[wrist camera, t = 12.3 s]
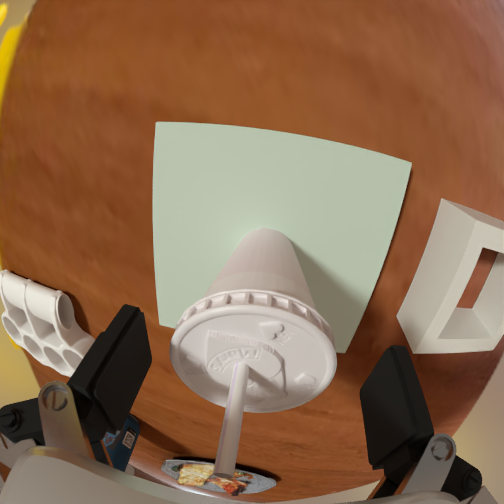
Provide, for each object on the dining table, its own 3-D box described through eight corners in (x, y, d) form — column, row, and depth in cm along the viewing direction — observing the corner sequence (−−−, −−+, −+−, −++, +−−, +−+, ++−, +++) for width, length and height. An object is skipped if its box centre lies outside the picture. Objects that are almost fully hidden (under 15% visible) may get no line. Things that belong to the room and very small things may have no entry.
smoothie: (280, 187, 16) (273, 413, 4) (331, 267, 18) (378, 481, 6) (198, 241, 18) (87, 435, 6) (253, 308, 20) (222, 501, 8)
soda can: (121, 424, 37) (98, 477, 26) (96, 402, 34) (68, 458, 23) (150, 429, 35) (129, 488, 24) (125, 405, 32) (97, 470, 22)
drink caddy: (441, 197, 16) (476, 220, 12) (516, 227, 16) (545, 248, 12) (396, 316, 21) (413, 353, 17) (473, 321, 20) (492, 350, 16)
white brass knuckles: (92, 293, 23) (118, 381, 30) (-2, 259, 24) (28, 340, 30) (74, 314, 20) (108, 400, 27) (-18, 272, 21) (17, 353, 27)
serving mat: (162, 121, 16) (156, 122, 15) (405, 160, 15) (411, 162, 14) (163, 317, 23) (159, 324, 22) (343, 345, 22) (345, 353, 21)
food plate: (246, 491, 50) (245, 502, 47) (158, 468, 48) (155, 479, 45) (293, 468, 39) (293, 483, 36) (173, 439, 38) (168, 455, 34)
